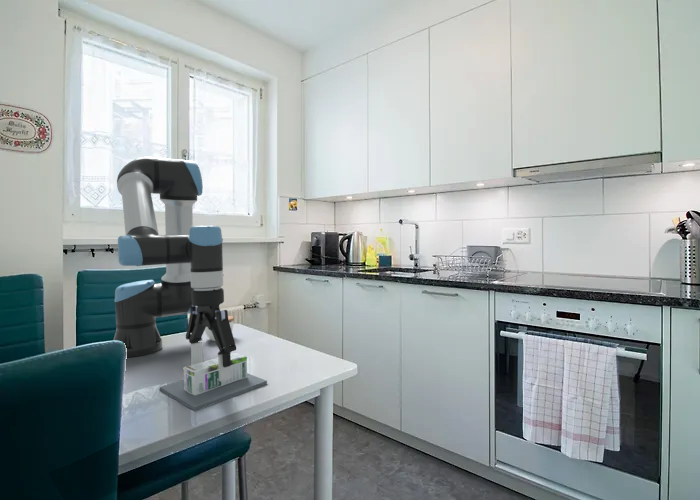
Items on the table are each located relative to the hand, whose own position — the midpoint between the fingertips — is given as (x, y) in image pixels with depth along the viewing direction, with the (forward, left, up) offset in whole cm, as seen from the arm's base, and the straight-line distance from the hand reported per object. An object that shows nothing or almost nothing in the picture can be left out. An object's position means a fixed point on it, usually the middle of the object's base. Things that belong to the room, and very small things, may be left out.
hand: (210, 373), depth 93 cm
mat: (0, +1, -4) cm, 4 cm away
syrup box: (0, +9, 0) cm, 9 cm away
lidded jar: (-41, +26, -4) cm, 49 cm away
